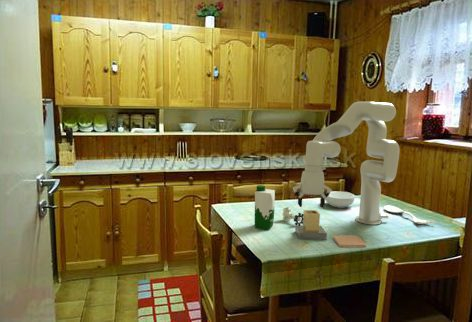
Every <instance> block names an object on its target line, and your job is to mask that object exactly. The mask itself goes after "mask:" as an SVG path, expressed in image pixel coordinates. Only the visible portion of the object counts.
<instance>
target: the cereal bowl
mask: <svg viewBox="0 0 472 322" xmlns="http://www.w3.org/2000/svg"><path fill="white" fill-rule="evenodd" d="M354 201H355V194H353V193H351V192H348V191H338V190H337V191H333V190H332V191H331V192H330V194H329V196H327V197H326V199H325V203H327V204H329V205H330V206H331V207H333V208H336V207H337V208H338V209H343V208H344V209H345V208H346V207H349V206H352V205H353V203H354Z"/></svg>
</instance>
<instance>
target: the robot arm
mask: <svg viewBox="0 0 472 322" xmlns="http://www.w3.org/2000/svg"><path fill="white" fill-rule="evenodd" d="M396 115H397V109H396V107H395V106H394V104H393V103H390V102H378V101H377V102H375V101H356V102H353V103H352V104H351V105H350V106H349V107H348V108H347V109H346V111H345V112H343V114H342V116H340V118H339V119H338V120H337V121H336V122H333V123H331V124H330V125H328V126H325V127H324V128H323V129H321V130H320V131H318V133H317V134H316V135H315V137H314V138H313V139H312V140H308V141H307V142H306V146H305V147H306V148H305V163H304V170H302V173H301V178H300V183H299V184H297V185H295V186H293V187H292V189H293V192H294V194H295V195H296V196H297V204H298V206H299V207H300V208H302V207H303V198H302V197H304V195H315V196H316V195H319V196H321V197H320V201H319V202H320V203H319V206H320V207H321V208H324V206H325V205H326V204H325V203H326V200H325V199H326V197H327V196H329V194H330V192H332V191H333V189H332V188H330V186H327V185H325V175H324V170H326V169H327V168H326V166H325V165H323V164H324V158H331V159H332V158H336V157H338V156H339V154H340V153H341V151H342V150H341V145H340V143H338V142H337V141H335V140H336V139H337V138H341V137H346V136H349V135H352V133H354V131H355V130H356V129H357V128H358V126H359V125H360V124H361V123H362V122H363V121H365V122H366V124H367V127H368V134H367V142H366V155H367V156H368V157H371V158H375V159H381V160H383V161H381V160H374V159H367V160H364V161H363V162H362V163H361V164H360V171H359V172H360V178H361V181H360V183H361V185H360V186H361V187H360V199H359V200H360V202H359V215H357V216H356V217H355V221H356V222H358V223H361V224H365V225H372V226H373V225H375V226H376V225H380V224H382V220H383V219H389V215H388V214H384V213H380V206H381V197H382V196H381V195H382V193H381V192H382V186H381V183H380V182H384V183H391V182H392V183H393V181H394V180H395V179H396V176H397V173H398V168H399V167H398V166H399V160H400V145H399V144H398V142H397V141H395V140H392V139H387V133H388V129H387V128H388V127H387V125H386V123H385V122H390V121H392V120H394V118H395V117H396ZM298 189H299V192H298ZM325 190H327V191H326V192H325Z"/></svg>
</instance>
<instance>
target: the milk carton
mask: <svg viewBox="0 0 472 322" xmlns="http://www.w3.org/2000/svg"><path fill="white" fill-rule="evenodd" d="M275 192H276V189H275V190H274V189H271V188H269V189H268V188H266V186H265V185H264V184H261V185H260V184H259V185H256V190H255V191H254V229H256V230H257V229H258V230H264V231H270V230H271V229H272V227H273V226H274V221H275V199H276V196H275V194H276V193H275Z"/></svg>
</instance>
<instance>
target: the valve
mask: <svg viewBox="0 0 472 322" xmlns="http://www.w3.org/2000/svg"><path fill="white" fill-rule="evenodd" d="M282 211H283V212H282V221H283V222H285V223H286V222H290V221H291V220H293V222H295V223H294V226H301V224H302V225H303V213H301V212H298V213H297V214H298V215H297V214H295V215H294V213H293V212H292V208H291V207H288V206H286V207H283V210H282Z"/></svg>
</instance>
